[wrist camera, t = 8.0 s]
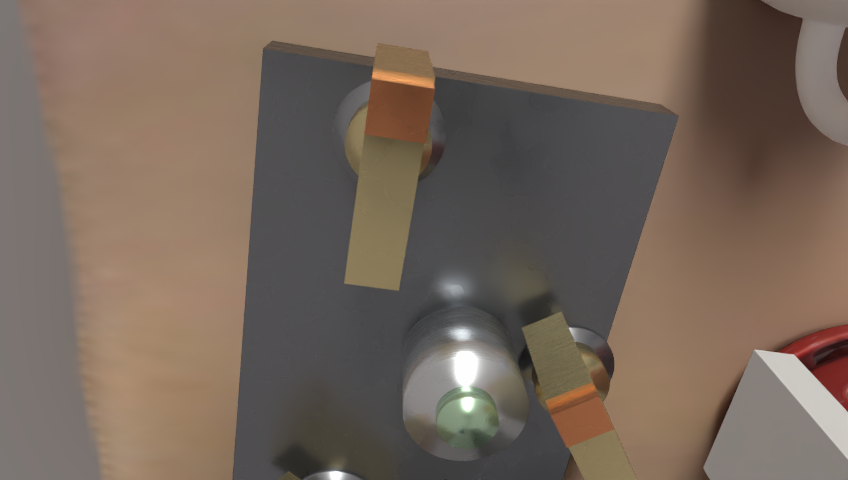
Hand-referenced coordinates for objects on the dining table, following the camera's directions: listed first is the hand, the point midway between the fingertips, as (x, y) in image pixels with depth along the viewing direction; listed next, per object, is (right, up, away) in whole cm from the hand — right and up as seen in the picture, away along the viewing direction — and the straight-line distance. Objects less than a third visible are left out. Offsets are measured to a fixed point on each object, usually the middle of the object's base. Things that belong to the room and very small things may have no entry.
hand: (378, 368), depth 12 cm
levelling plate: (+1, -2, +20) cm, 21 cm away
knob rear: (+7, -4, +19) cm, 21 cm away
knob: (-1, +6, +14) cm, 16 cm away
